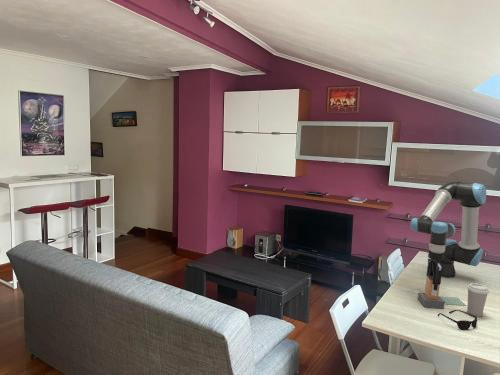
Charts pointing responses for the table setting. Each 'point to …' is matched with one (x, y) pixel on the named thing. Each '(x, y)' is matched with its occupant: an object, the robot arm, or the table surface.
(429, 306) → the grey square frame
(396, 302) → the table surface
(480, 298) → the coffee cup
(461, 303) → the pad
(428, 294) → the plug
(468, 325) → the sunglasses
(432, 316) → the table surface
